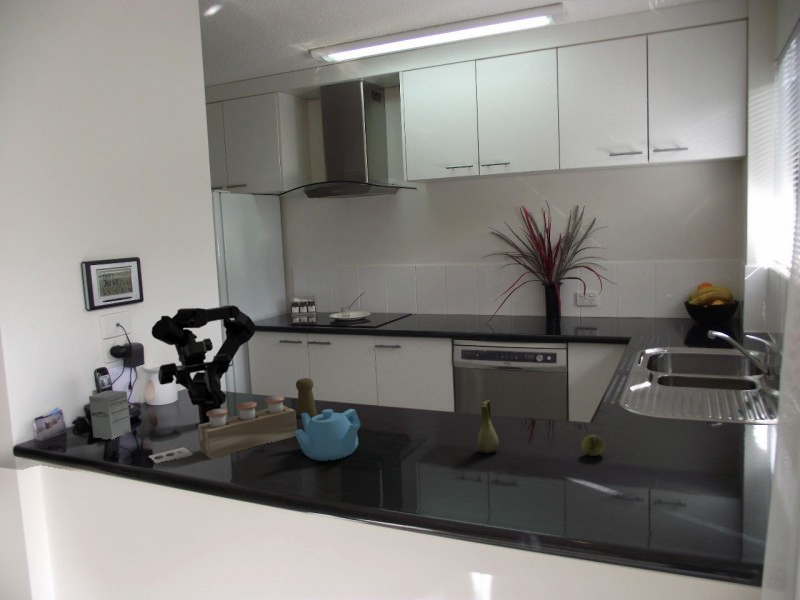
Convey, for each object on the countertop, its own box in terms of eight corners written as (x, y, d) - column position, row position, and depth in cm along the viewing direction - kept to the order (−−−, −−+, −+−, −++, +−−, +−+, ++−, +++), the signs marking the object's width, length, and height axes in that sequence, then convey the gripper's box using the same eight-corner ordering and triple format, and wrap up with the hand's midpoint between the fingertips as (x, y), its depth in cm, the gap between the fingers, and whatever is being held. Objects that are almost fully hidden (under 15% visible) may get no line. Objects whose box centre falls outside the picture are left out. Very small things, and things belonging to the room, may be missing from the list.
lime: (578, 455, 141) (578, 433, 141) (595, 451, 143) (595, 430, 142) (592, 461, 137) (591, 439, 136) (609, 457, 139) (608, 435, 138)
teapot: (360, 461, 147) (357, 417, 146) (296, 466, 146) (293, 422, 145) (362, 440, 162) (358, 400, 161) (303, 445, 161) (300, 404, 160)
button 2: (263, 416, 170) (261, 398, 169) (280, 412, 173) (279, 394, 172) (271, 420, 166) (269, 402, 165) (289, 416, 169) (287, 398, 168)
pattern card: (148, 457, 159) (148, 455, 159) (184, 448, 165) (183, 446, 165) (156, 464, 154) (155, 462, 154) (192, 455, 159) (192, 452, 159)
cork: (313, 417, 186) (310, 381, 184) (294, 417, 187) (290, 381, 186) (319, 411, 191) (316, 376, 190) (301, 411, 193) (298, 376, 191)
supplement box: (92, 439, 179) (87, 396, 177) (113, 431, 185) (108, 389, 184) (112, 440, 176) (106, 397, 174) (132, 432, 183) (127, 390, 181)
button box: (200, 451, 162) (197, 425, 161) (285, 429, 175) (282, 405, 175) (210, 458, 155) (208, 431, 154) (297, 435, 169) (295, 410, 168)
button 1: (205, 430, 161) (203, 411, 160) (224, 425, 164) (223, 407, 163) (212, 435, 156) (210, 415, 156) (232, 430, 159) (230, 411, 159)
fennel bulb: (488, 446, 151) (485, 397, 150) (504, 450, 148) (502, 400, 146) (473, 453, 147) (470, 403, 146) (489, 457, 144) (486, 406, 142)
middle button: (235, 423, 165) (233, 405, 165) (253, 418, 168) (252, 400, 168) (242, 427, 161) (240, 408, 161) (261, 422, 164) (259, 404, 164)
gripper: (156, 335, 164) (172, 383, 156) (225, 325, 174) (243, 369, 167) (151, 361, 171) (167, 407, 163) (218, 349, 182) (235, 393, 174)
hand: (204, 393), depth 167 cm, fingers open, 4 cm apart
